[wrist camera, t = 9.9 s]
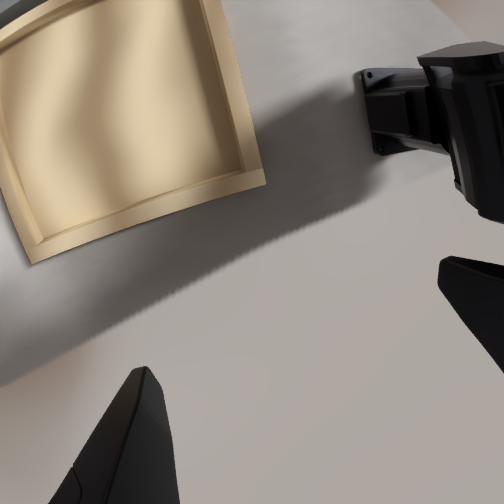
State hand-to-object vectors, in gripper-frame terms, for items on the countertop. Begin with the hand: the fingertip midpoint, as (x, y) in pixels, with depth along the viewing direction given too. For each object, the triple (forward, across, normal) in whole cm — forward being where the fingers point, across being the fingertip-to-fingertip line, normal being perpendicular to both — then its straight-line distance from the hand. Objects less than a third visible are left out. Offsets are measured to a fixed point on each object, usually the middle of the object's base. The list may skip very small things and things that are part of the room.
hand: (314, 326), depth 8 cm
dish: (+13, +6, -9) cm, 17 cm away
